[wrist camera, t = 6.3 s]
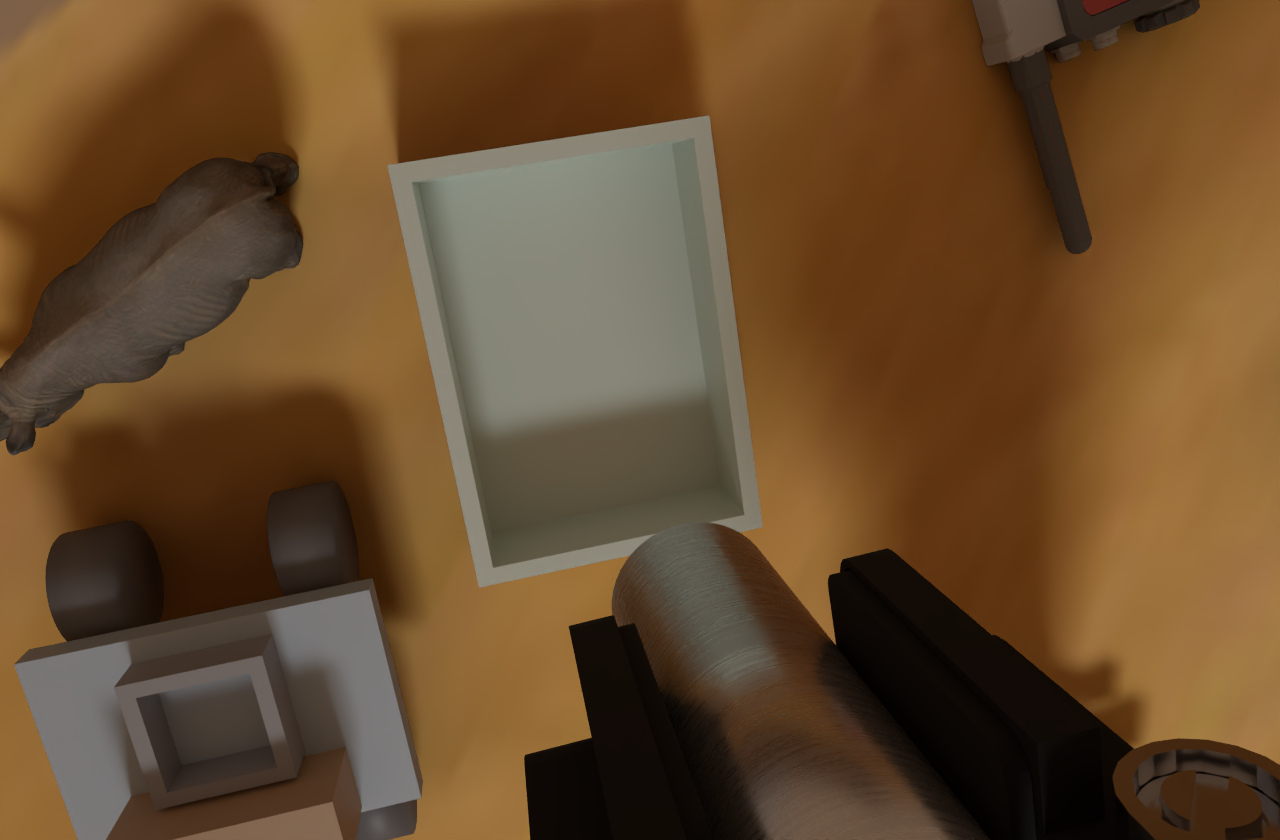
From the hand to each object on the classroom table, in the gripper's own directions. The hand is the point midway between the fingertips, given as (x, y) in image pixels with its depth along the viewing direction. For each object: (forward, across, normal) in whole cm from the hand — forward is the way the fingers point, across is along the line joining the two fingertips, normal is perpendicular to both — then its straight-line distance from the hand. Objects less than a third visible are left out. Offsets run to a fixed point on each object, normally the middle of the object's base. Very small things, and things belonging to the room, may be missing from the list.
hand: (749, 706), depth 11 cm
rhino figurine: (+25, +13, -5) cm, 29 cm away
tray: (+25, -1, 0) cm, 25 cm away
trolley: (+25, +14, +9) cm, 30 cm away
